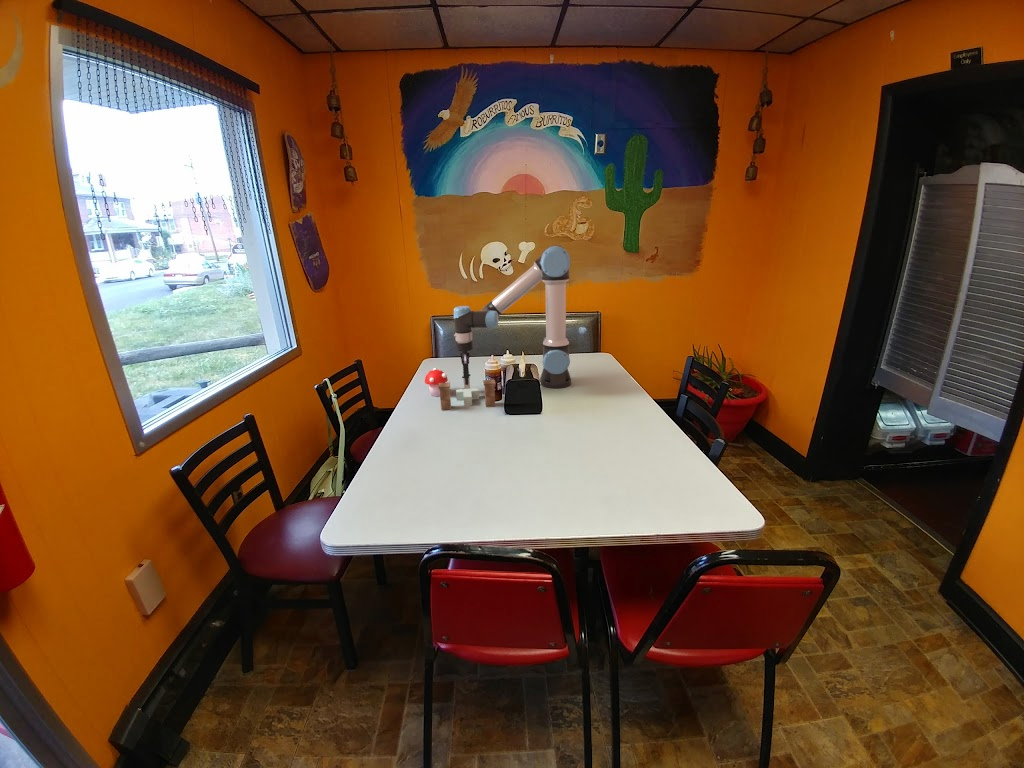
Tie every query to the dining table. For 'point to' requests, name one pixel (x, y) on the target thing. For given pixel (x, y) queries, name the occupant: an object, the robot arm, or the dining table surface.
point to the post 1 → (445, 396)
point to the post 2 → (489, 393)
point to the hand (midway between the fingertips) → (467, 390)
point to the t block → (467, 395)
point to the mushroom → (435, 381)
